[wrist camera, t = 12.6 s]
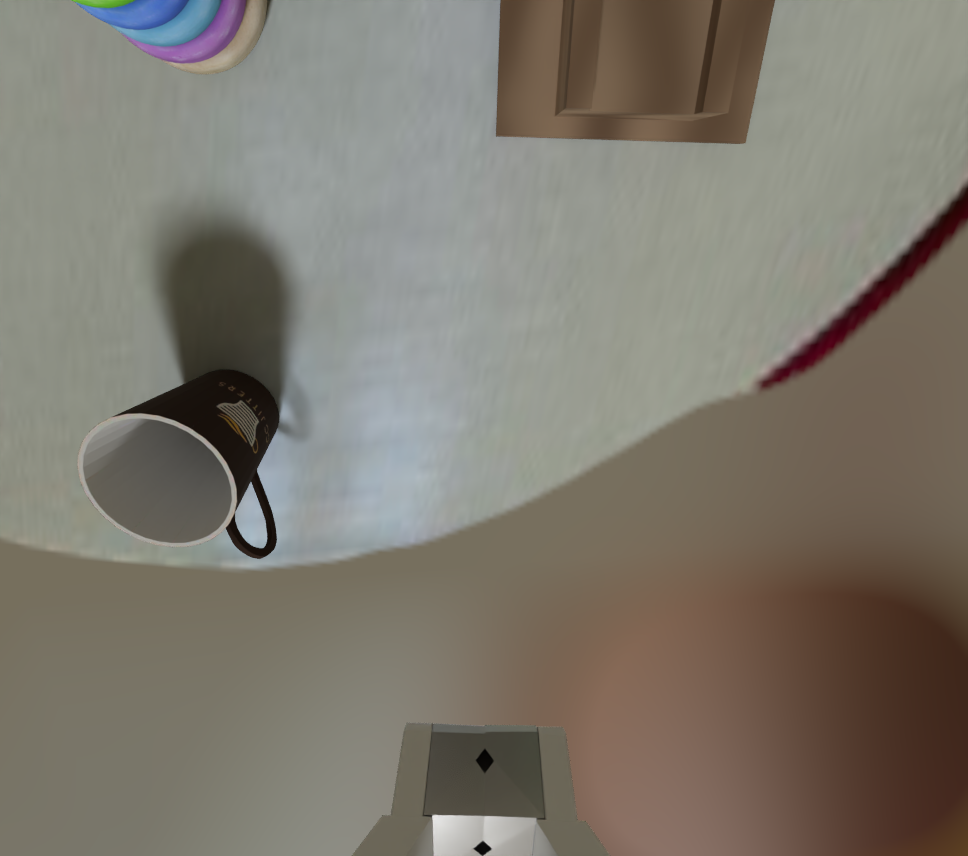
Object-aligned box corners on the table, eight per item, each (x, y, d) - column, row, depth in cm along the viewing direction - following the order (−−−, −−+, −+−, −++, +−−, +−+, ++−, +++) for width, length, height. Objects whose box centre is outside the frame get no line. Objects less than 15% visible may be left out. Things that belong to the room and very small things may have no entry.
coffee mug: (156, 358, 38) (51, 419, 29) (278, 349, 38) (211, 407, 28) (206, 501, 43) (130, 590, 34) (315, 494, 42) (267, 582, 33)
